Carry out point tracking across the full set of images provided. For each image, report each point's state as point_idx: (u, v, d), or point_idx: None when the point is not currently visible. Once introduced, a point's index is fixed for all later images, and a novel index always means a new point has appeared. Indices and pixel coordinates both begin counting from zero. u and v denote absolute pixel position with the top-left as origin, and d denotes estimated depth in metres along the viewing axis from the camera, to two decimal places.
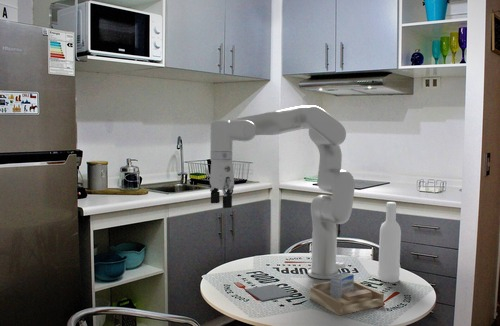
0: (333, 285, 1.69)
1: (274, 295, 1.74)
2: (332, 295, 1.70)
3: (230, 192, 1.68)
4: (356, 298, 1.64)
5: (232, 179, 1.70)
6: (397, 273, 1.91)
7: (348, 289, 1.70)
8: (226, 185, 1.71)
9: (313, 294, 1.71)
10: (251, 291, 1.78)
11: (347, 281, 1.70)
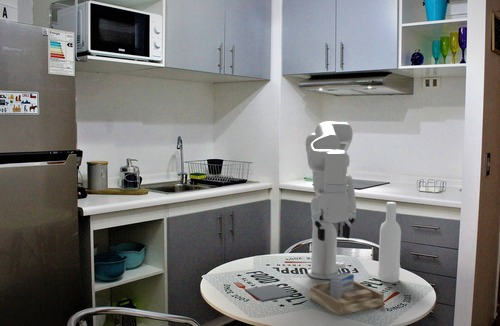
0: (333, 285, 1.69)
1: (274, 295, 1.74)
2: (332, 295, 1.70)
3: None
4: (356, 298, 1.64)
5: None
6: (397, 273, 1.91)
7: (348, 289, 1.70)
8: None
9: (313, 294, 1.71)
10: (251, 291, 1.78)
11: (347, 281, 1.70)
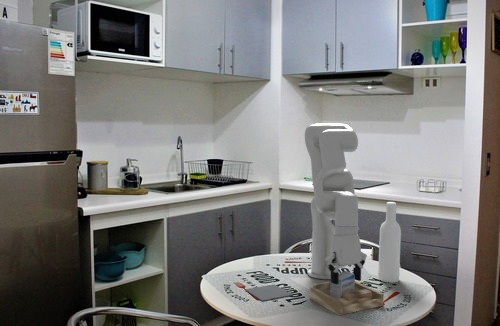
0: (333, 285, 1.68)
1: (274, 295, 1.74)
2: (332, 294, 1.69)
3: None
4: (356, 298, 1.64)
5: None
6: (397, 273, 1.91)
7: (348, 289, 1.70)
8: None
9: (313, 294, 1.71)
10: (251, 291, 1.78)
11: (348, 282, 1.69)
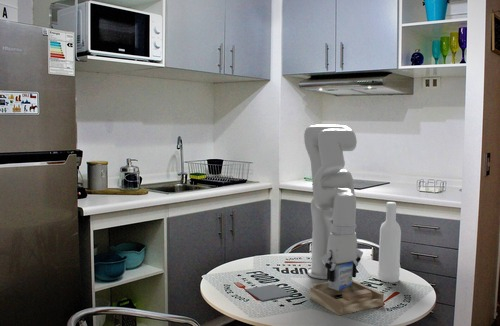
0: None
1: (274, 295, 1.74)
2: (330, 282, 1.71)
3: None
4: (356, 298, 1.64)
5: None
6: (397, 273, 1.91)
7: (346, 276, 1.71)
8: None
9: (313, 294, 1.71)
10: (251, 291, 1.78)
11: (346, 269, 1.71)
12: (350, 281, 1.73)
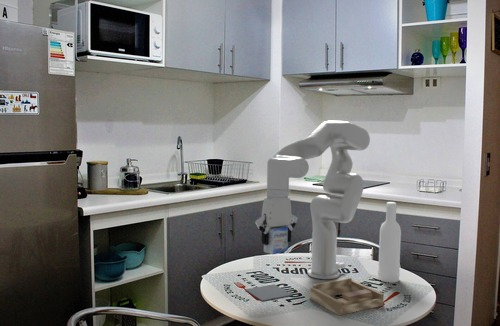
0: None
1: (274, 295, 1.74)
2: (265, 246, 1.74)
3: None
4: (356, 298, 1.64)
5: None
6: (397, 273, 1.91)
7: (281, 240, 1.74)
8: None
9: (313, 294, 1.71)
10: (251, 291, 1.78)
11: (280, 233, 1.74)
12: (285, 246, 1.76)
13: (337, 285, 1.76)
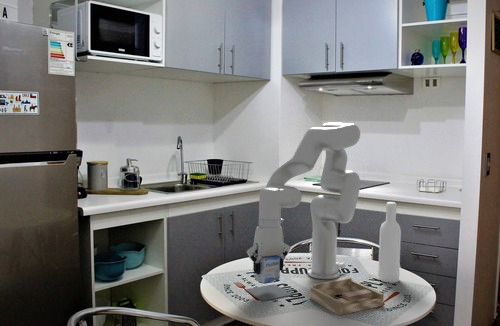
0: None
1: (274, 295, 1.74)
2: (257, 274, 1.76)
3: None
4: (356, 298, 1.64)
5: None
6: (397, 273, 1.91)
7: (273, 269, 1.76)
8: None
9: (313, 294, 1.71)
10: (251, 291, 1.78)
11: (272, 262, 1.75)
12: (277, 274, 1.78)
13: (337, 285, 1.76)
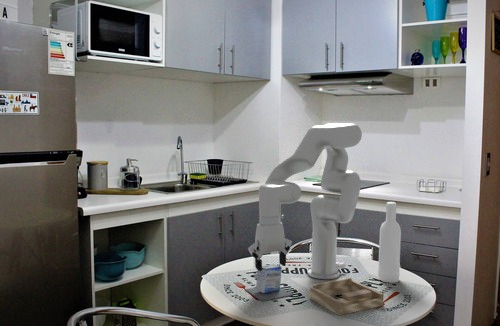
0: (259, 274, 1.76)
1: (274, 295, 1.74)
2: (258, 284, 1.76)
3: None
4: (356, 298, 1.64)
5: None
6: (397, 273, 1.91)
7: (274, 280, 1.77)
8: None
9: (313, 294, 1.71)
10: (251, 291, 1.78)
11: (273, 272, 1.76)
12: (278, 285, 1.78)
13: (337, 285, 1.76)
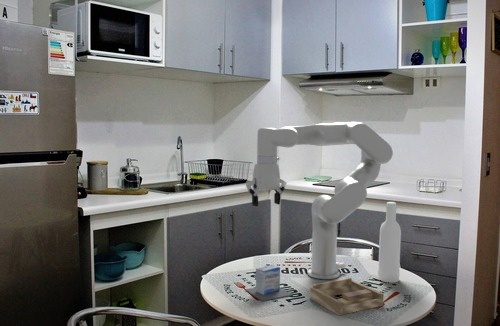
0: (258, 276, 1.76)
1: (274, 295, 1.74)
2: (257, 286, 1.76)
3: None
4: (356, 298, 1.64)
5: None
6: (397, 273, 1.91)
7: (273, 281, 1.77)
8: None
9: (313, 294, 1.71)
10: (251, 291, 1.78)
11: (272, 273, 1.76)
12: (277, 286, 1.78)
13: (337, 285, 1.76)
